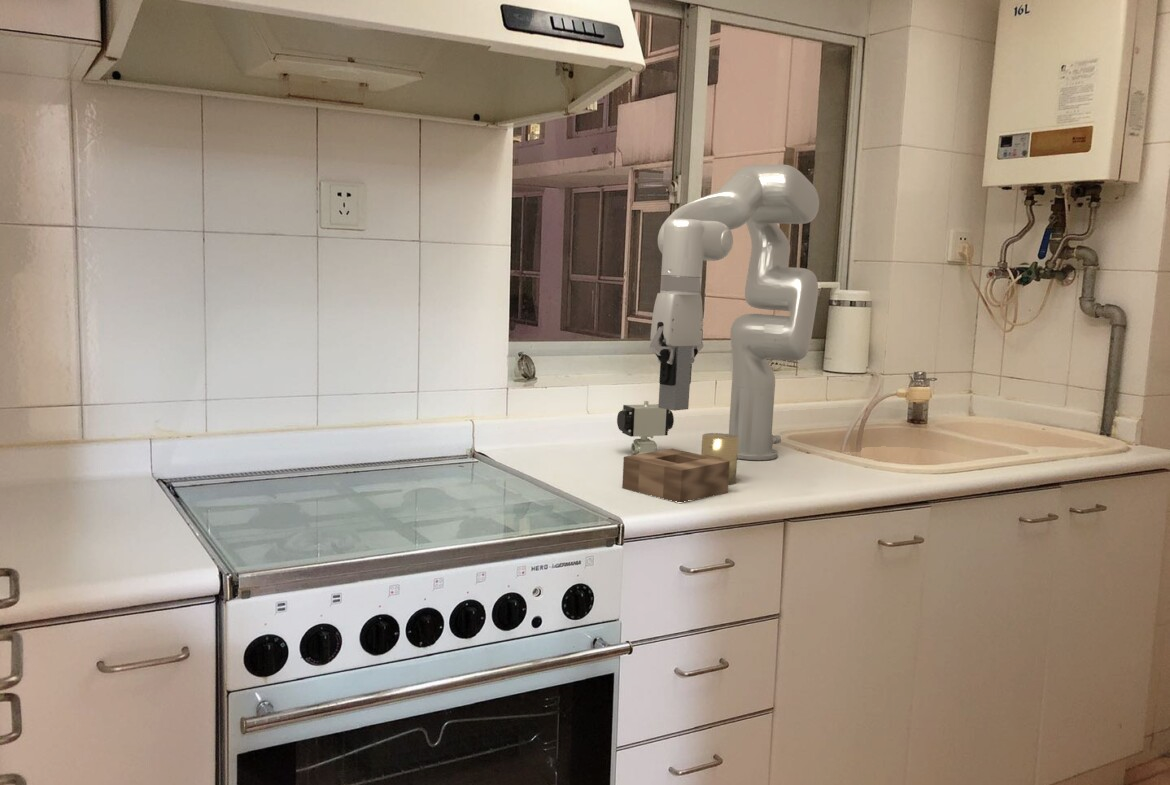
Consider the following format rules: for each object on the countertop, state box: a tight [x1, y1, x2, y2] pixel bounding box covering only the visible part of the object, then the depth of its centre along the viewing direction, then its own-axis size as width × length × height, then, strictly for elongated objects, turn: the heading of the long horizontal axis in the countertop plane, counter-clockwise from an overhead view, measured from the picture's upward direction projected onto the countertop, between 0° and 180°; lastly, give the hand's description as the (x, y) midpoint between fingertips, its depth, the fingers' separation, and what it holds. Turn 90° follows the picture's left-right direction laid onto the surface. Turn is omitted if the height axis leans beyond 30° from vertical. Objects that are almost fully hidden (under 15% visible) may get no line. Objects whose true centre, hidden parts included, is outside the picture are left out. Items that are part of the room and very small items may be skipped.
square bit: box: [658, 345, 692, 411], centre depth 184 cm, size 4×4×12 cm
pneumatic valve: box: [616, 400, 675, 455], centre depth 215 cm, size 6×12×12 cm, turn 112°
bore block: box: [621, 448, 730, 503], centre depth 184 cm, size 14×14×6 cm
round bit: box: [700, 432, 739, 486], centre depth 192 cm, size 7×7×9 cm
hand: (675, 383), depth 184 cm, fingers closed on square bit, 4 cm apart
